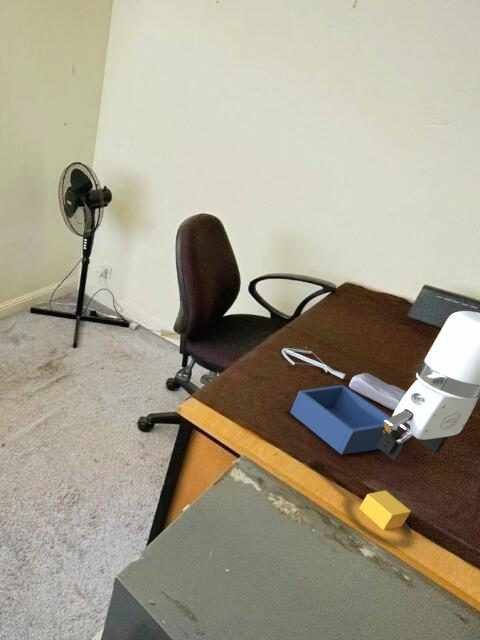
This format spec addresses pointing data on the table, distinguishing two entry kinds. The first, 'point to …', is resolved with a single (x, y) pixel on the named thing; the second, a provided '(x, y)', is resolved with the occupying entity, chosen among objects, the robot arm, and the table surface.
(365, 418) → the blue storage tray
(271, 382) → the table surface
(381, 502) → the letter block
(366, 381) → the stone block
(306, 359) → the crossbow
